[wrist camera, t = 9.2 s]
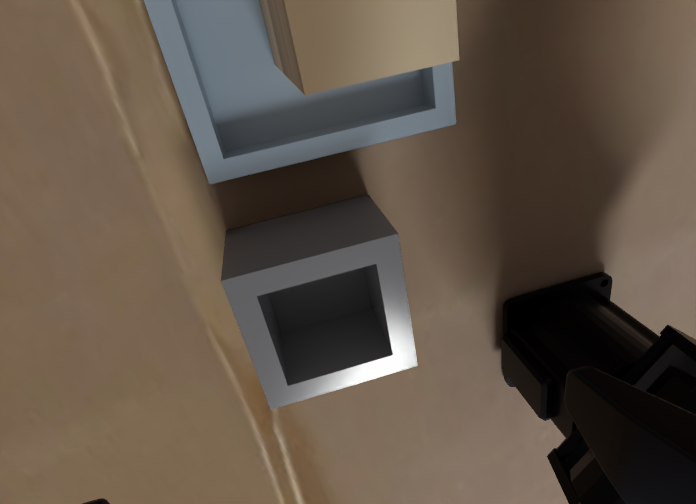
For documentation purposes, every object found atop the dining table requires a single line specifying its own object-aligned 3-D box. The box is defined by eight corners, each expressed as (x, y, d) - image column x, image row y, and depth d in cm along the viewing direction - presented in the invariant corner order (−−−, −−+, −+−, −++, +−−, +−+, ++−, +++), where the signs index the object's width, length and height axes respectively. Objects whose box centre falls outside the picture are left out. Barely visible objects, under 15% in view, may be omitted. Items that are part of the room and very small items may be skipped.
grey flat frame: (413, -190, 14) (433, -218, 13) (438, 116, 19) (456, 124, 17) (105, -138, 13) (86, -162, 12) (212, 171, 18) (209, 184, 16)
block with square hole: (368, 194, 20) (397, 233, 16) (388, 309, 23) (417, 365, 19) (226, 230, 19) (221, 280, 15) (266, 343, 22) (270, 409, 18)
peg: (336, -46, 15) (447, -146, 7) (351, 47, 17) (459, 60, 8) (251, -29, 15) (258, -112, 6) (274, 65, 16) (305, 95, 8)
